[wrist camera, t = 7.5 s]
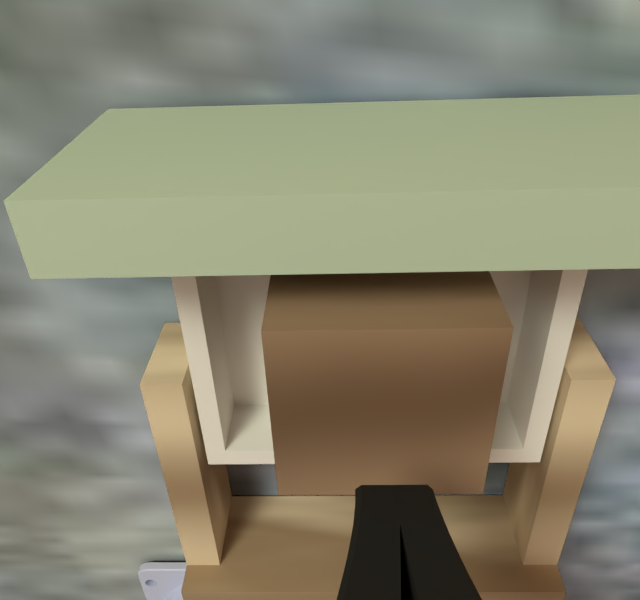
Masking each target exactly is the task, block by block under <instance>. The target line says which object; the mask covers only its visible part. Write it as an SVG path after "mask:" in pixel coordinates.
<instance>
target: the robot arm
mask: <svg viewBox="0 0 640 600" xmlns="http://www.w3.org/2000/svg"><path fill="white" fill-rule="evenodd" d="M186 567H187V563H186V562H147V563H144V564H142V565H141V566H140V568H139V572H138V577H139V580H140V583H141V585H142V588H143V591H144V594H145V597H146V600H183V597H182V594H181V589H182V585H183V580H184V576H185V572H186ZM337 600H482V599H481V597H480V595H479V593H478V591H477V589H476V587H475V585H474V583H473V581H472V579H471V578H470V576H469V574H468V572H467V570H466V568H465V566H464V564H463V561H462V559H461V557H460V555H459V553H458V551H457V549H456V546H455V544H454V542H453V540H452V538H451V536H450V533H449V531H448V528H447V526H446V524H445V521H444V519H443V516H442V514H441V511H440V509H439V506H438V503H437V500H436V498H435V495H434V491H433V489H432V488H431V487H430V486H428V485H361V486H359V487H358V488H356V489H355V511H354V521H353V528H352V535H351V540H350V545H349V550H348V555H347V560H346V564H345V568H344V572H343V576H342V580H341V584H340V588H339V592H338V596H337Z"/></svg>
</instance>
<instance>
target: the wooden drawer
mask: <svg viewBox="0 0 640 600" xmlns="http://www.w3.org/2000/svg"><path fill="white" fill-rule="evenodd" d="M4 204H5V207H6V210H7V213H8V215H9V218H10V221H11V224H12V227H13V230H14V233H15V235H16V238H17V241H18V244H19V247H20V250H21V253H22V255H23V258H24V261H25V264H26V267H27V270H28V273H29V275H30V278H31V279H60V278H117V277H171V278H172V283H173V288H174V293H175V298H176V303H177V308H178V313H179V318H180V323H181V328H182V334H183V339H184V344H185V349H186V354H187V359H188V364H189V369H190V374H191V379H192V384H193V389H194V394H195V399H196V404H197V409H198V415H199V420H200V425H201V430H202V435H203V440H204V445H205V450H206V455H207V460H208V464H275V460H274V451H273V441H272V432H271V422H270V412H269V403H268V393H267V384H266V374H265V365H264V355H263V346H262V336H261V328H262V322H263V316H264V311H265V305H266V299H267V293H268V288H269V282H270V276H271V275H291V274H349V273H407V272H465V271H489V272H490V274H491V277H492V279H493V281H494V284H495V286H496V288H497V291H498V293H499V295H500V298H501V300H502V302H503V305H504V307H505V309H506V311H507V314H508V316H509V318H510V321H511V323H512V325H513V334H512V339H511V344H510V350H509V355H508V361H507V366H506V372H505V377H504V383H503V388H502V393H501V399H500V404H499V410H498V415H497V421H496V426H495V432H494V437H493V442H492V448H491V453H490V459H489V463H512V462H540V460H541V456H542V452H543V448H544V444H545V440H546V436H547V432H548V428H549V424H550V420H551V416H552V412H553V408H554V404H555V400H556V396H557V392H558V388H559V384H560V380H561V376H562V372H563V368H564V364H565V360H566V356H567V352H568V348H569V344H570V340H571V336H572V332H573V328H574V324H575V320H576V316H577V312H578V308H579V304H580V300H581V296H582V292H583V288H584V284H585V280H586V276H587V272H588V269H638V268H640V95H606V96H569V97H532V98H495V99H458V100H421V101H384V102H347V103H310V104H273V105H236V106H199V107H163V108H126V109H108V110H107V111H106V112H105V113H103V114H102V115H101V116H100V117H99V118H98V119H97V120H95V121H94V122H93V123H92V124H91V125H90V126H89V127H87V128H86V129H85V130H84V131H83V132H82V133H81V134H79V135H78V136H77V137H76V138H75V139H74V140H73V141H71V142H70V143H69V144H68V145H67V146H66V147H65V148H63V149H62V150H61V151H60V152H59V153H58V154H57V155H55V156H54V157H53V158H52V159H51V160H50V161H49V162H47V163H46V164H45V165H44V166H43V167H42V168H41V169H39V170H38V171H37V172H36V173H35V174H34V175H33V176H31V177H30V178H29V179H28V180H27V181H26V182H25V183H23V184H22V185H21V186H20V187H19V188H18V189H17V190H15V191H14V192H13V193H12V194H11V195H10V196H9V197H8V198H6V199H5V200H4Z"/></svg>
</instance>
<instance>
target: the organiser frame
mask: <svg viewBox="0 0 640 600" xmlns="http://www.w3.org/2000/svg"><path fill="white" fill-rule="evenodd" d="M615 381H616V379H615V377H614V375H613V374H612V372H611V370H610V369H609V367H608V365H607V364H606V362H605V360H604V359H603V357H602V355H601V354H600V352H599V350H598V349H597V347H596V345H595V344H594V342H593V340H592V339H591V337H590V336H589V334H588V332H587V331H586V329H585V327H584V326H583V324H582V322H581V321H580V319H579V317H576V320H575V324H574V328H573V332H572V336H571V340H570V344H569V348H568V352H567V356H566V360H565V364H564V368H563V372H562V376H561V380H560V384H559V388H558V392H557V396H556V400H555V404H554V408H553V412H552V416H551V420H550V424H549V428H548V432H547V436H546V440H545V444H544V448H543V452H542V456H541V460H540V462H512V463H509V467H508V472H507V477H506V482H505V486H504V491H503V495H435V498H436V500H437V503H438V506H439V509H440V511H441V514H442V516H443V519H444V521H445V524H446V526H447V528H448V531H449V533H450V536H451V538H452V540H453V542H454V544H455V546H456V549H457V551H458V553H459V555H460V557H461V559H462V561H463V564H464V566H465V568H466V570H467V572H468V574H469V576H470V578H471V579H472V581H473V583H474V585H475V587H476V589H477V591H478V593H479V595H480V597H481V599H482V600H564V598H565V595H566V589H565V586H564V584H563V581H562V578H561V575H560V572H559V569H558V566H557V564H558V561H559V558H560V554H561V551H562V548H563V545H564V542H565V539H566V535H567V532H568V529H569V526H570V523H571V520H572V517H573V513H574V510H575V507H576V504H577V501H578V498H579V494H580V491H581V488H582V485H583V482H584V479H585V476H586V472H587V469H588V466H589V463H590V460H591V457H592V453H593V450H594V447H595V444H596V441H597V438H598V435H599V431H600V428H601V425H602V422H603V419H604V416H605V412H606V409H607V406H608V403H609V400H610V397H611V394H612V390H613V387H614V384H615ZM140 388H141V392H142V396H143V399H144V403H145V407H146V411H147V415H148V418H149V422H150V426H151V430H152V434H153V438H154V441H155V445H156V449H157V453H158V457H159V460H160V464H161V468H162V472H163V476H164V479H165V483H166V487H167V491H168V495H169V499H170V502H171V506H172V510H173V514H174V518H175V521H176V525H177V529H178V533H179V537H180V541H181V544H182V548H183V552H184V556H185V560H186V563H187V567H186V572H185V576H184V580H183V585H182V589H181V594H182V597H183V600H337V596H338V592H339V588H340V584H341V580H342V576H343V572H344V568H345V564H346V560H347V555H348V550H349V545H350V540H351V535H352V528H353V521H354V511H355V496H232V494H231V488H230V482H229V476H228V471H227V465H226V464H208V460H207V455H206V450H205V445H204V440H203V435H202V430H201V425H200V420H199V415H198V409H197V404H196V399H195V394H194V389H193V384H192V379H191V374H190V369H189V364H188V359H187V354H186V349H185V344H184V339H183V334H182V328H181V323H165V324H164V327H163V329H162V332H161V334H160V336H159V339H158V341H157V344H156V346H155V349H154V351H153V353H152V356H151V358H150V361H149V363H148V366H147V368H146V371H145V373H144V375H143V378H142V380H141V383H140Z"/></svg>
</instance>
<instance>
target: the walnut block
mask: <svg viewBox="0 0 640 600" xmlns="http://www.w3.org/2000/svg"><path fill="white" fill-rule="evenodd" d="M512 334H513V325H512V323H511V321H510V318H509V316H508V314H507V311H506V309H505V307H504V305H503V302H502V300H501V298H500V295H499V293H498V291H497V288H496V286H495V284H494V281H493V279H492V277H491V274H490V272H489V271H465V272H407V273H349V274H291V275H271V276H270V282H269V288H268V293H267V299H266V305H265V311H264V316H263V322H262V328H261V336H262V346H263V355H264V365H265V374H266V384H267V393H268V403H269V412H270V422H271V432H272V441H273V451H274V460H275V470H276V479H277V489H278V495H355V489H356V488H358V487H359V486H361V485H428V486H430V487H431V488H432V489H433V491H434V494H483V491H484V486H485V480H486V475H487V470H488V464H489V459H490V453H491V448H492V442H493V437H494V432H495V426H496V421H497V415H498V410H499V404H500V399H501V393H502V388H503V383H504V377H505V372H506V366H507V361H508V355H509V350H510V344H511V339H512Z"/></svg>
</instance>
